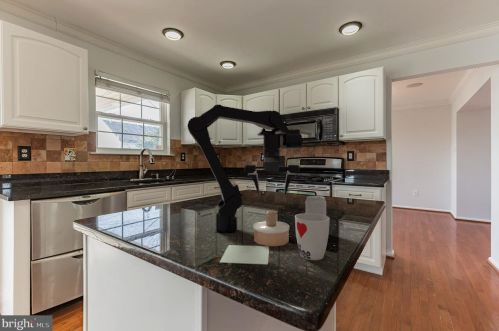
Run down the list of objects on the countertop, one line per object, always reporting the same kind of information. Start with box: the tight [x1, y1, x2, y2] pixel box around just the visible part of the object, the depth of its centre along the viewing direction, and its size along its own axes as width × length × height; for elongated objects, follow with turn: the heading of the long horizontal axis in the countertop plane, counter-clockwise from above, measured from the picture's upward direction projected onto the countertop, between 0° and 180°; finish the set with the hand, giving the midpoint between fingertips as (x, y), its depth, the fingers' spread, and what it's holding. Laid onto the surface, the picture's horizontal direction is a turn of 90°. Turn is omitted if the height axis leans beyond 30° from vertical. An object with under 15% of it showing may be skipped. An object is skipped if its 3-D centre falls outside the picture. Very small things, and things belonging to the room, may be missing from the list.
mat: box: [219, 244, 270, 265], centre depth 60 cm, size 11×11×1 cm
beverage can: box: [304, 195, 327, 216], centre depth 77 cm, size 6×6×12 cm
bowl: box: [253, 229, 290, 247], centre depth 70 cm, size 10×10×4 cm
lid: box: [252, 210, 290, 234], centre depth 70 cm, size 10×10×5 cm
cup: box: [294, 212, 331, 261], centre depth 58 cm, size 8×8×10 cm
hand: (271, 194), depth 83 cm, fingers open, 9 cm apart
